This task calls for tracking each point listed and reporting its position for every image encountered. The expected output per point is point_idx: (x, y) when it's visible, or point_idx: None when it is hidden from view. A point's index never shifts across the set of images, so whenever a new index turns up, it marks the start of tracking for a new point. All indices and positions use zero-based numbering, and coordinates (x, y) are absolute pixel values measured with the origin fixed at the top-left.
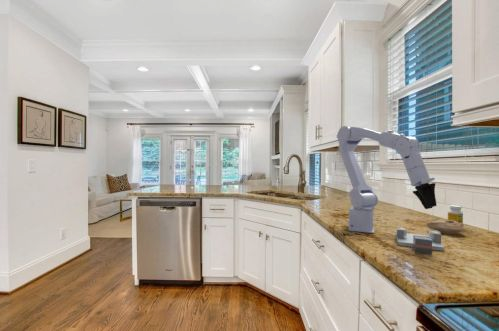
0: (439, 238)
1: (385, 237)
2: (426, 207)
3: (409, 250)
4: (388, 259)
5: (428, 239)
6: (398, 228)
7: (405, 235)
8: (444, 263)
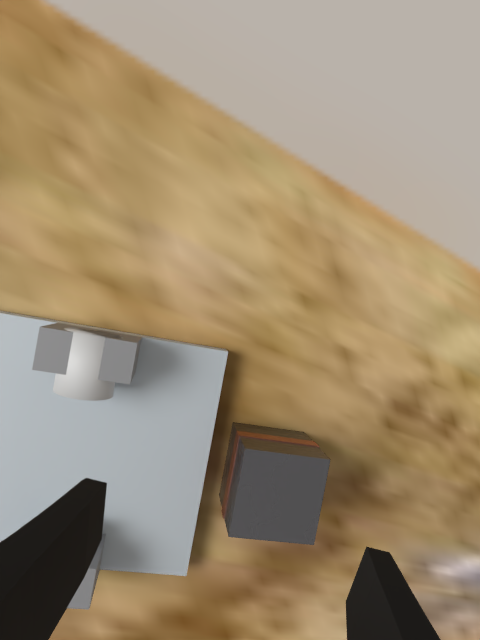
0: (138, 349)
1: None
2: (95, 544)
3: None
4: None
5: (317, 476)
6: None
7: None
8: (413, 418)
